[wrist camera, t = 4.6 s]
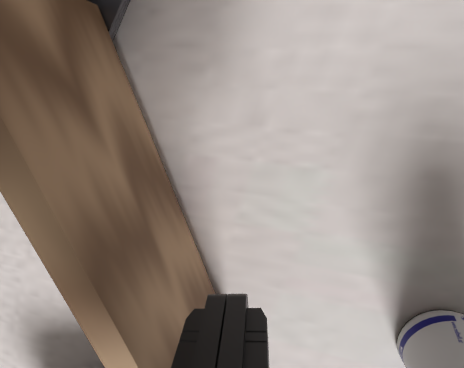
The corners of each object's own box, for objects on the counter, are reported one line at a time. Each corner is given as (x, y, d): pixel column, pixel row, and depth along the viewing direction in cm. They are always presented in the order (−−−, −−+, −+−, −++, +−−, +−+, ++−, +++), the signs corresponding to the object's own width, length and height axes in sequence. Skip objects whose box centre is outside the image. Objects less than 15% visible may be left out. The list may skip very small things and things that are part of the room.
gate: (75, 14, 15) (-220, -85, 6) (99, 4, 15) (-169, -117, 6) (209, 325, 21) (168, 524, 12) (228, 322, 21) (202, 522, 12)
